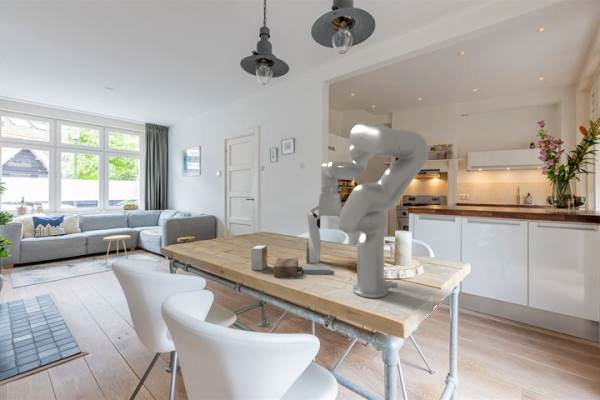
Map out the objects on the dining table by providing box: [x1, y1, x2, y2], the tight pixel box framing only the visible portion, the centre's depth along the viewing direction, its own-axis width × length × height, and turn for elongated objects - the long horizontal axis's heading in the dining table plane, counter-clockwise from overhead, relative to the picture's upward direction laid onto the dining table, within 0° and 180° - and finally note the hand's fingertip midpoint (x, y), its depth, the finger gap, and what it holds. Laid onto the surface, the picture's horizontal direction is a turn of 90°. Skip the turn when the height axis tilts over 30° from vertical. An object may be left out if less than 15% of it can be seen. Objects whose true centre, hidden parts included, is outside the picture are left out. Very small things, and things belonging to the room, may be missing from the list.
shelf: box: [273, 258, 303, 278], centre depth 125 cm, size 12×14×5 cm
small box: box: [250, 244, 268, 271], centre depth 133 cm, size 8×6×10 cm
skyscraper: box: [305, 209, 322, 265], centre depth 143 cm, size 8×8×28 cm
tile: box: [302, 265, 331, 275], centre depth 125 cm, size 12×6×2 cm, turn 85°
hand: (329, 228), depth 123 cm, fingers open, 9 cm apart
